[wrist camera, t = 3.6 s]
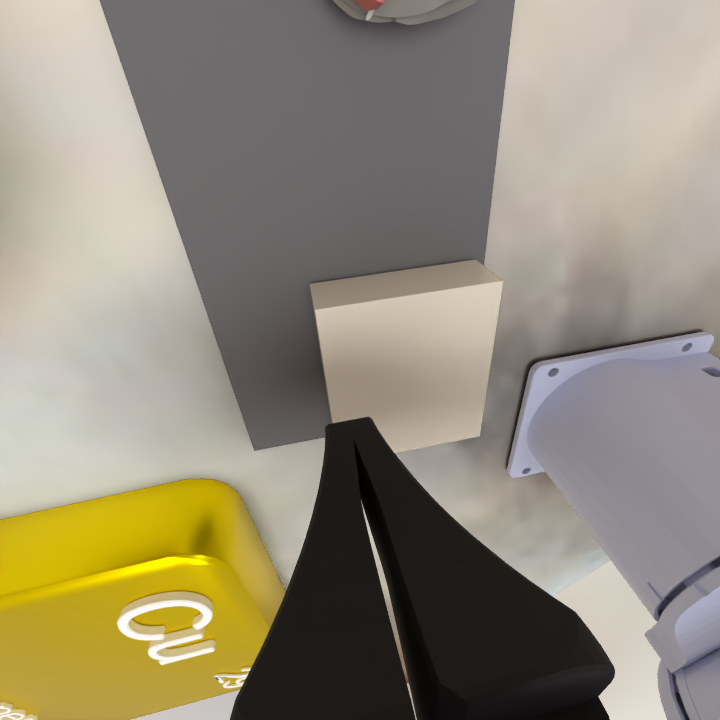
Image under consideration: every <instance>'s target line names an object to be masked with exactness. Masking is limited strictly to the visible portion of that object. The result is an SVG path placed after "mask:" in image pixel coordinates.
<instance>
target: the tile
mask: <svg viewBox="0 0 720 720" xmlns="http://www.w3.org/2000/svg"><path fill="white" fill-rule="evenodd" d="M309 285H310V291H311V298H312V304H313V310H314V316H315V322H316V328H317V335H318V341H319V347H320V353H321V359H322V366H323V372H324V378H325V384H326V390H327V397H328V403H329V409H330V415H331V421H332V423H337V422H342V421H347V420H353V419H358V418H363V417H370V418H372V419H373V421H374V423H375V425H376V427H377V428H378V430H379V432H380V433H381V435H382V436H383V438H384V439H385V441H386V442H387V444H388V445H389V446H390V448H391V449H392V451H393V452H394V453H400V452H405V451H409V450H414V449H419V448H424V447H429V446H434V445H439V444H444V443H449V442H454V441H459V440H464V439H469V438H473V437H478V436H480V431H481V424H482V418H483V411H484V405H485V398H486V392H487V385H488V379H489V372H490V365H491V359H492V352H493V346H494V339H495V333H496V326H497V319H498V313H499V306H500V300H501V293H502V287H503V280H502V279H500V278H499V277H498V276H497V275H495V274H494V273H493V272H491V271H490V270H489V269H487V268H486V267H485V266H484V265H482V264H481V263H480V262H478V261H477V260H476V259H475V260H468V261H461V262H455V263H448V264H441V265H434V266H427V267H420V268H414V269H407V270H400V271H393V272H386V273H380V274H373V275H366V276H359V277H352V278H345V279H339V280H332V281H325V282H318V283H311V284H309Z"/></svg>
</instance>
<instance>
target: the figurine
mask: <svg viewBox="0 0 720 720" xmlns="http://www.w3.org/2000/svg"><path fill="white" fill-rule="evenodd" d="M333 1H334V2H335V3H336V4H337V5H338V6H339V7H340V8H341V9H342V10H343V11H345V12H346V13H347V14H348V15H350V16H351V17H353V18H356V19H360V20H365V21H370V22H378V23H379V22H392V21H395V22H398V23H402V24H407V25H415V24H420V23H424V22H428V21H432V20H436V19H440V18H444V17H446V16H449V15H451V14H453V13H455V12H457V11H459V10H462V9H464V8H466V7H468V6H470V5H473V4H474V3H475V2H476V1H477V0H333Z"/></svg>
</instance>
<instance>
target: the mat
mask: <svg viewBox="0 0 720 720" xmlns="http://www.w3.org/2000/svg"><path fill="white" fill-rule="evenodd" d="M100 3H101V6H102V9H103V12H104V14H105V17H106V20H107V23H108V26H109V29H110V32H111V35H112V38H113V41H114V44H115V46H116V49H117V52H118V55H119V58H120V61H121V64H122V67H123V70H124V73H125V76H126V78H127V81H128V84H129V87H130V90H131V93H132V96H133V99H134V102H135V105H136V108H137V110H138V113H139V116H140V119H141V122H142V125H143V128H144V131H145V134H146V137H147V140H148V142H149V145H150V148H151V151H152V154H153V157H154V160H155V163H156V166H157V169H158V172H159V175H160V177H161V180H162V183H163V186H164V189H165V192H166V195H167V198H168V201H169V204H170V207H171V209H172V212H173V215H174V218H175V221H176V224H177V227H178V230H179V233H180V236H181V239H182V241H183V244H184V247H185V250H186V253H187V256H188V259H189V262H190V265H191V268H192V271H193V273H194V276H195V279H196V282H197V285H198V288H199V291H200V294H201V297H202V300H203V303H204V305H205V308H206V311H207V314H208V317H209V320H210V323H211V326H212V329H213V332H214V335H215V338H216V340H217V343H218V346H219V349H220V352H221V355H222V358H223V361H224V364H225V367H226V370H227V372H228V375H229V378H230V381H231V384H232V387H233V390H234V393H235V396H236V399H237V402H238V404H239V407H240V410H241V413H242V416H243V419H244V422H245V425H246V428H247V431H248V434H249V436H250V439H251V442H252V445H253V448H254V451H256V450H261V449H266V448H271V447H277V446H282V445H287V444H292V443H297V442H302V441H307V440H313V439H318V438H323V437H325V427H326V426H327V425H328V424H332V421H331V415H330V409H329V403H328V397H327V390H326V384H325V378H324V372H323V366H322V359H321V353H320V347H319V341H318V335H317V328H316V322H315V316H314V310H313V304H312V298H311V291H310V285H309V284H311V283H318V282H325V281H332V280H339V279H345V278H352V277H359V276H366V275H373V274H380V273H386V272H393V271H400V270H407V269H414V268H420V267H427V266H434V265H441V264H448V263H455V262H461V261H468V260H475V259H476V260H477V261H478V262H480V263H481V264H482V265H484V258H485V250H486V241H487V233H488V224H489V216H490V207H491V199H492V190H493V182H494V173H495V165H496V156H497V148H498V139H499V131H500V122H501V114H502V105H503V97H504V88H505V79H506V71H507V62H508V54H509V45H510V37H511V28H512V20H513V11H514V3H515V0H477V1H476V2H475V3H474V4H473V5H470V6H468V7H466V8H464V9H462V10H459V11H457V12H455V13H453V14H451V15H449V16H446V17H444V18H440V19H436V20H432V21H428V22H424V23H420V24H415V25H407V24H402V23H398V22H395V21H392V22H379V23H378V22H370V21H365V20H360V19H356V18H353V17H351V16H350V15H348V14H347V13H346V12H345V11H343V10H342V9H341V8H340V7H339V6H338V5H337V4H336V3H335V2H334V1H333V0H100Z"/></svg>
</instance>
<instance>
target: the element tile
mask: <svg viewBox="0 0 720 720" xmlns="http://www.w3.org/2000/svg"><path fill="white" fill-rule="evenodd" d="M285 593H286V592H285V590H284V587H283V585H282V583H281V581H280V579H279V577H278V575H277V572H276V570H275V568H274V566H273V564H272V562H271V560H270V557H269V555H268V553H267V551H266V549H265V547H264V545H263V542H262V540H261V538H260V536H259V534H258V532H257V529H256V527H255V525H254V523H253V521H252V519H251V517H250V514H249V512H248V510H247V508H246V506H245V504H244V502H243V499H242V498H241V496H240V495H239V494H238V492H237V491H236V490H234V489H233V488H232V487H230V486H229V485H227V484H226V483H223V482H219V481H216V480H213V479H185V480H181V481H176V482H171V483H167V484H162V485H158V486H153V487H148V488H144V489H139V490H135V491H130V492H125V493H121V494H116V495H112V496H107V497H102V498H98V499H93V500H89V501H84V502H79V503H75V504H70V505H66V506H61V507H56V508H52V509H47V510H42V511H38V512H33V513H29V514H24V515H19V516H15V517H10V518H6V519H1V520H0V720H130V719H134V718H137V717H141V716H145V715H149V714H152V713H156V712H160V711H163V710H167V709H170V708H174V707H178V706H182V705H185V704H189V703H193V702H196V701H200V700H204V699H207V698H211V697H215V696H218V695H222V694H226V693H229V692H233V691H237V690H240V689H241V687H242V685H243V683H244V681H245V679H246V677H247V675H248V673H249V671H250V669H251V667H252V665H253V663H254V661H255V659H256V657H257V655H258V653H259V651H260V649H261V647H262V645H263V643H264V641H265V639H266V637H267V634H268V632H269V630H270V628H271V625H272V623H273V621H274V618H275V616H276V614H277V612H278V609H279V607H280V605H281V602H282V600H283V598H284V595H285Z"/></svg>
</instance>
